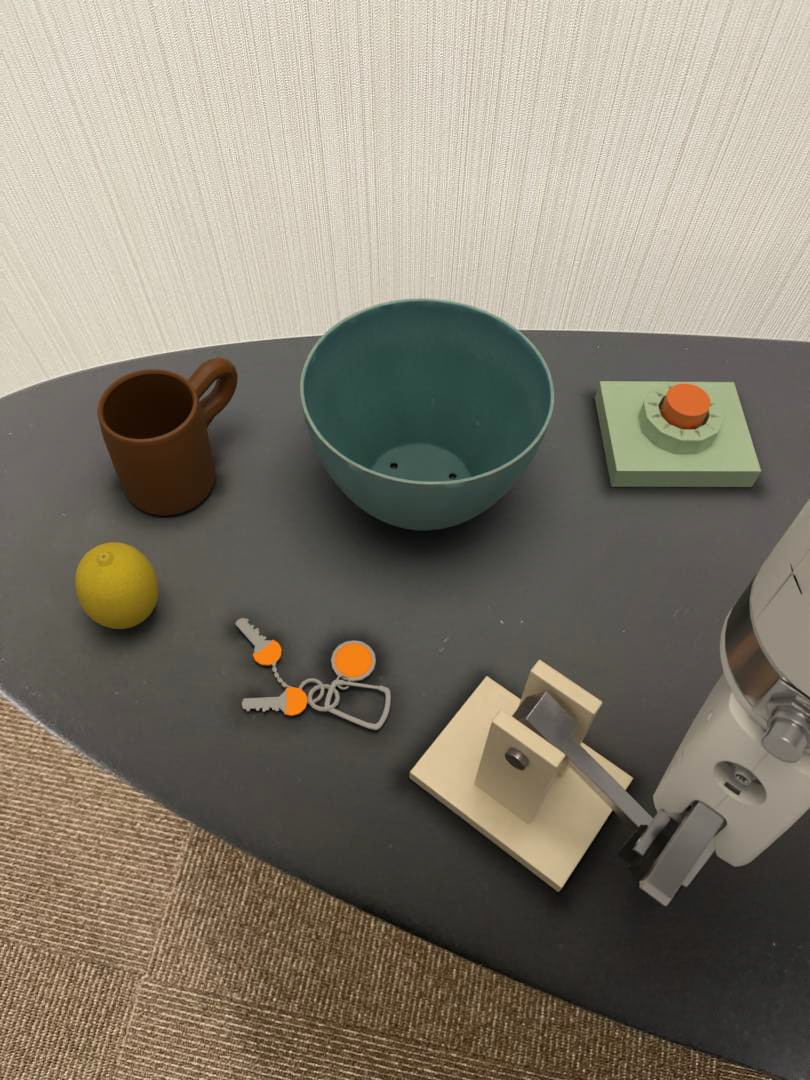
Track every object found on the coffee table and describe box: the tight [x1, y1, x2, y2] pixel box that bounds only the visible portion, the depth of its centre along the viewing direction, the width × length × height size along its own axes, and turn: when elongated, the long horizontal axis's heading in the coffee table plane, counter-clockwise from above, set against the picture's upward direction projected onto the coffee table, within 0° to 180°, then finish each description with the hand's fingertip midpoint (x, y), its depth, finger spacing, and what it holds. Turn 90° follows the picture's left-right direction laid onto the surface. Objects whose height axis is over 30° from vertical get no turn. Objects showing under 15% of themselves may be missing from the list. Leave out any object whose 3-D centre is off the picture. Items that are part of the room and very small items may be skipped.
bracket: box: [408, 659, 634, 893], centre depth 57 cm, size 12×9×12 cm
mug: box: [96, 356, 239, 517], centre depth 72 cm, size 12×8×9 cm, turn 139°
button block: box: [594, 380, 762, 488], centre depth 77 cm, size 12×10×4 cm
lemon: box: [74, 541, 160, 630], centre depth 64 cm, size 6×6×8 cm
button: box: [661, 383, 711, 429], centre depth 75 cm, size 4×4×2 cm
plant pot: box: [299, 297, 555, 531], centre depth 70 cm, size 18×18×12 cm
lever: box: [512, 691, 680, 871], centre depth 54 cm, size 12×5×2 cm, turn 52°
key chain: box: [234, 617, 392, 731], centre depth 65 cm, size 13×7×1 cm, turn 76°
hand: (691, 795), depth 48 cm, fingers open, 9 cm apart
